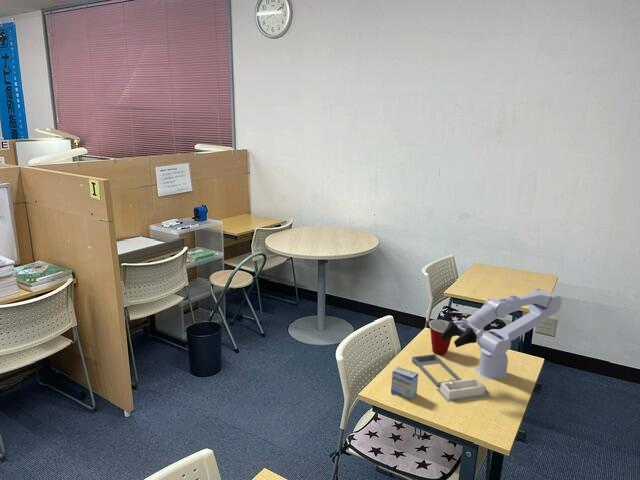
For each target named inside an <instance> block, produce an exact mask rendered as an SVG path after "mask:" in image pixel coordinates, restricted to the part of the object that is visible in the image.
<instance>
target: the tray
mask: <svg viewBox="0 0 640 480" xmlns="http://www.w3.org/2000/svg"><path fill="white" fill-rule="evenodd" d="M411 363H413V365H414V366H415V367H418V368H419V369H420V370H421V372H422V373H423V374H424V375H425V376H426V377H427V378H428V379H429V380H430V381H431V382H432V384H433V385H435V387H436V388H440V387H441V383H444V382H450V380H446V381H438V380H436V379H435V377H433V375H432V374H430V371H428V370H427V369H426V368H425V367H426V366H430V365H441V367H442V368H443V369H444V370H445V371H446V372H447V373H448V374H449V375H450V376H451V377H452V378H454V379H452V380H453V381H458V380H462V378H460V377H459V375H457V373H455V372H454V370H452V369H451V368H450V367H449V366H448V365H447V364H446V363H445V362H444V361H442V359H440V358H439V357H438V356H437V354H435V353H433V354H425V355H418V356H417V355H416V356H412V358H411ZM424 366H425V367H424Z"/></svg>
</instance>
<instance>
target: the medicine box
mask: <svg viewBox="0 0 640 480" xmlns="http://www.w3.org/2000/svg"><path fill="white" fill-rule="evenodd" d="M391 372H392V374H391V375H392V376H391V385H390V394H391V395H397V396H400V397H403V398H406V399H408V400H413V399H414V398H415V397H416V395H417V394H418V393H417V392H418V384H419V382H418V381H419V373H418V372H415V371H412V370H409V369H406V368H403V367H400V366H396V367H395V368H394V369H393V370H392V371H391Z"/></svg>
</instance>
